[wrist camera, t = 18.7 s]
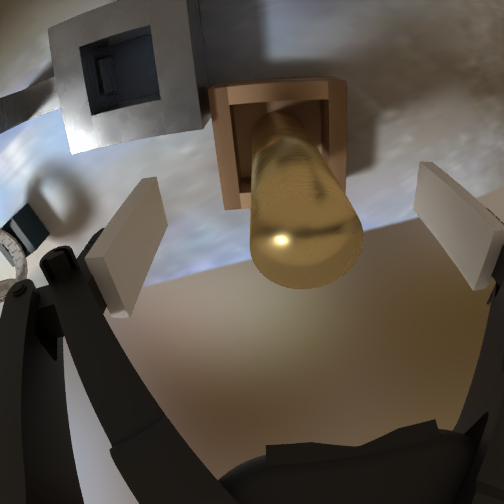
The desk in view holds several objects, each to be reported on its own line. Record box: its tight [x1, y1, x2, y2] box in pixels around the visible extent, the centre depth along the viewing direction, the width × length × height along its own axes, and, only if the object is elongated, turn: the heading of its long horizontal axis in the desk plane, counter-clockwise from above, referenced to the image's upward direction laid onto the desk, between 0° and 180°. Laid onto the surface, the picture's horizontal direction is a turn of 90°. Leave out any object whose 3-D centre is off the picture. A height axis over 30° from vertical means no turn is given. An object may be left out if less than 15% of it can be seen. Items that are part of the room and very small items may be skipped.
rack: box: [208, 77, 347, 210], centre depth 22 cm, size 9×9×4 cm
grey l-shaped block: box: [0, 59, 117, 134], centre depth 18 cm, size 10×3×7 cm, turn 95°
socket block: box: [48, 0, 211, 154], centre depth 19 cm, size 10×10×5 cm
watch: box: [0, 203, 50, 303], centre depth 25 cm, size 6×8×11 cm
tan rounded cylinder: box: [250, 111, 363, 289], centre depth 17 cm, size 4×4×15 cm
